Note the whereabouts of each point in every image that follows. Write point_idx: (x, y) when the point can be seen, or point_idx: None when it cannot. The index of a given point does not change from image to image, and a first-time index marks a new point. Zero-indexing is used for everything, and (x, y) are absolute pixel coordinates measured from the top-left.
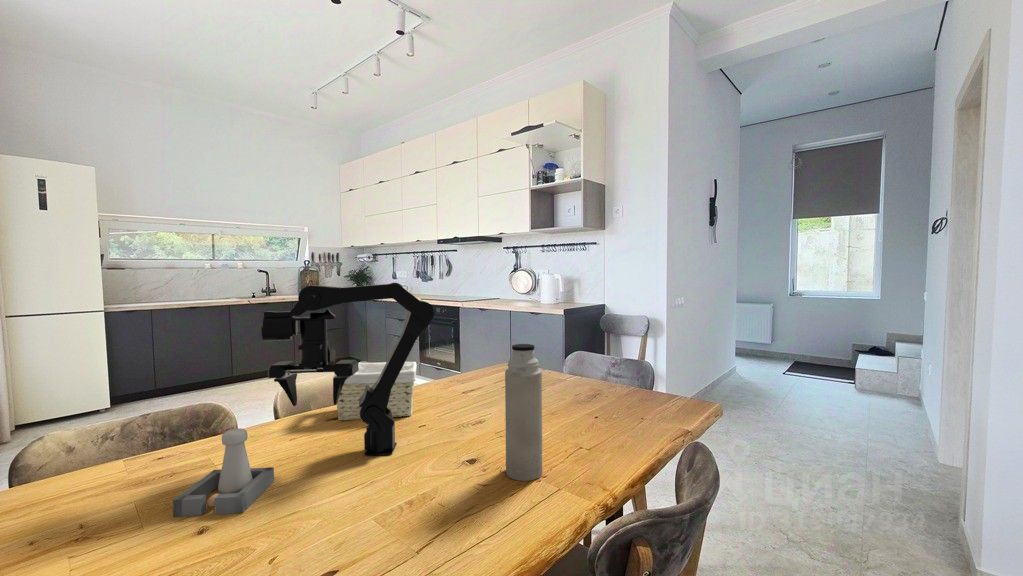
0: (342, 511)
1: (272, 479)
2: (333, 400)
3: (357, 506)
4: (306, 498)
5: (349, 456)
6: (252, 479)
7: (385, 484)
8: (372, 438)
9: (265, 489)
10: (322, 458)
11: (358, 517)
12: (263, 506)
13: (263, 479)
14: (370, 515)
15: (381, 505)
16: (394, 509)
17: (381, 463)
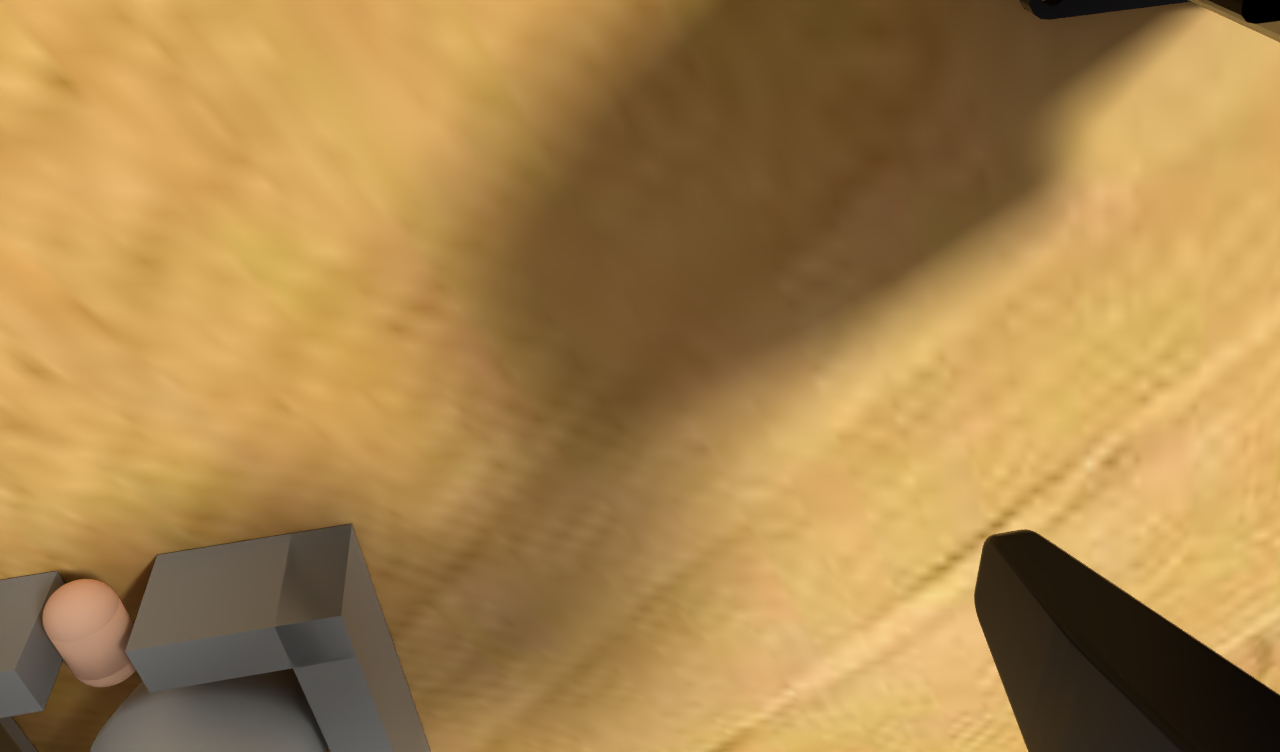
0: (974, 709)
1: (355, 563)
2: (1030, 741)
3: None
4: (730, 652)
5: (838, 12)
6: (309, 738)
7: (1201, 478)
8: (1232, 18)
9: (385, 624)
10: (532, 77)
11: None
12: (515, 735)
13: (385, 711)
14: None
15: None
16: None
17: (1191, 172)
